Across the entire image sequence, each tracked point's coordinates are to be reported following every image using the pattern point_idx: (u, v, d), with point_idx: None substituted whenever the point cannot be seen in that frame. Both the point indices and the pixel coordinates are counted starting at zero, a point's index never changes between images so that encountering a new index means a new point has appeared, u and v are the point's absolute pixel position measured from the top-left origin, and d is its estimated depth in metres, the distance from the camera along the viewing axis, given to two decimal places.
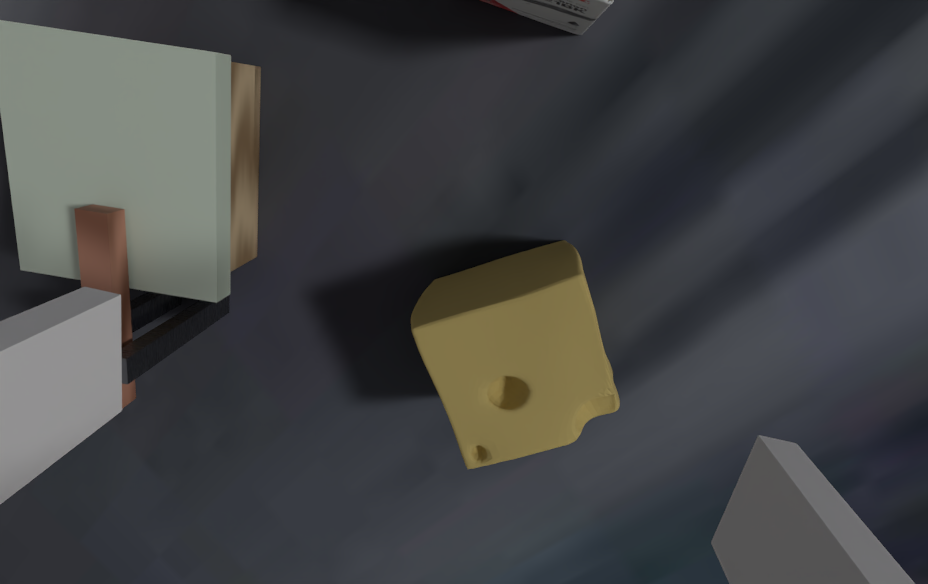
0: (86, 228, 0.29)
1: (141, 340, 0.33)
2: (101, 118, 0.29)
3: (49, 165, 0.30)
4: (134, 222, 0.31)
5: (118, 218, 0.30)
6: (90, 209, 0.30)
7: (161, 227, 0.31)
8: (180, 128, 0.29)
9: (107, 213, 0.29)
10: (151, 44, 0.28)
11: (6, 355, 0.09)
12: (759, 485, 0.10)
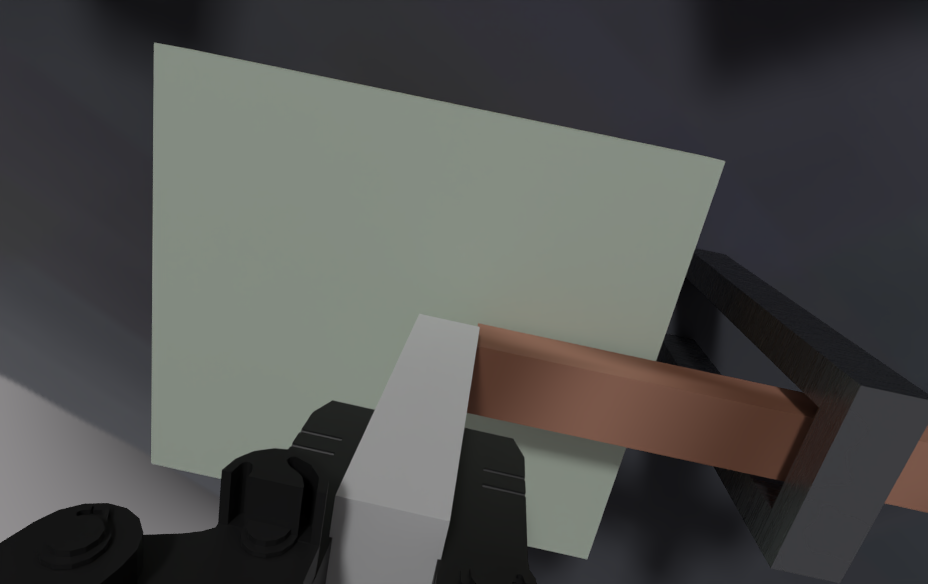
0: (505, 399, 0.13)
1: (792, 363, 0.13)
2: (300, 322, 0.15)
3: None
4: (508, 313, 0.14)
5: (493, 334, 0.14)
6: None
7: (523, 256, 0.14)
8: (312, 160, 0.13)
9: None
10: (155, 184, 0.14)
11: None
12: None
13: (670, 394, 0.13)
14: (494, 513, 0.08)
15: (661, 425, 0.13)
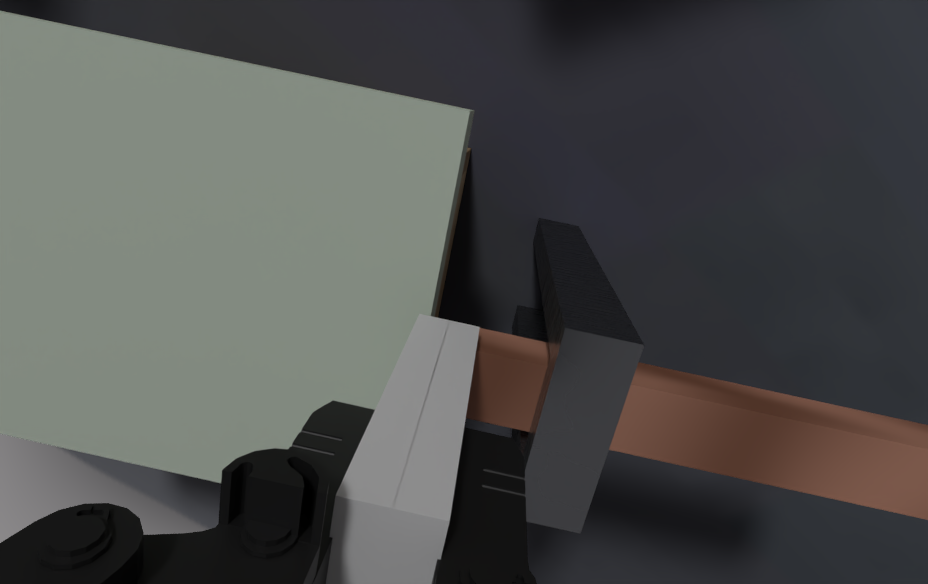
0: (505, 404, 0.13)
1: (549, 316, 0.13)
2: (82, 279, 0.15)
3: (184, 404, 0.16)
4: (281, 268, 0.14)
5: (493, 339, 0.13)
6: None
7: (288, 209, 0.14)
8: (71, 111, 0.13)
9: None
10: None
11: None
12: None
13: (672, 400, 0.13)
14: (494, 513, 0.08)
15: (663, 431, 0.13)
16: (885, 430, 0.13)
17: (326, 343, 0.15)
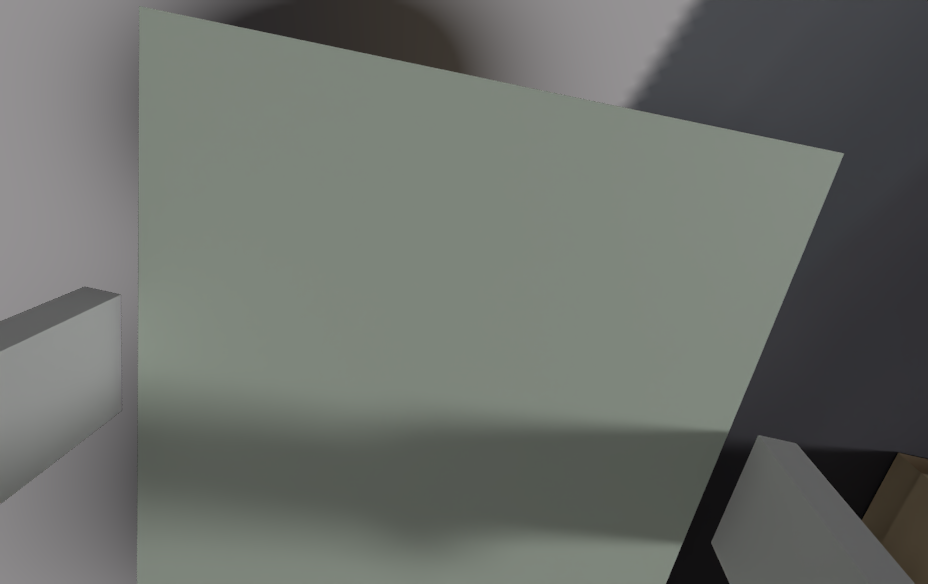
0: None
1: None
2: (427, 304, 0.10)
3: (253, 401, 0.11)
4: (452, 542, 0.12)
5: None
6: None
7: (522, 559, 0.12)
8: (654, 345, 0.10)
9: None
10: (644, 117, 0.09)
11: (6, 355, 0.09)
12: (759, 485, 0.10)
13: None
14: None
15: None
16: None
17: (363, 573, 0.13)
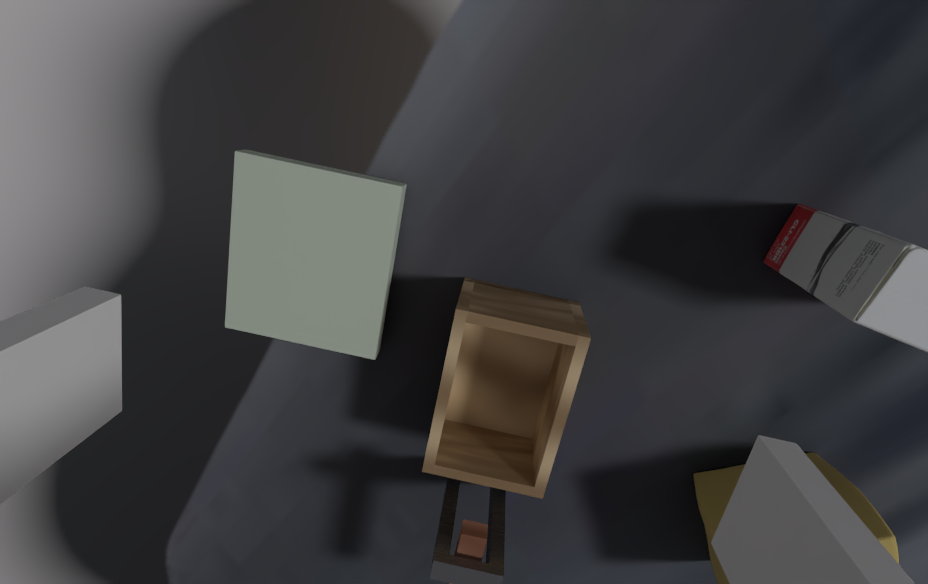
0: (466, 547, 0.38)
1: (495, 548, 0.39)
2: (308, 225, 0.40)
3: (262, 254, 0.41)
4: (320, 298, 0.41)
5: None
6: (470, 531, 0.38)
7: (341, 303, 0.41)
8: (367, 236, 0.39)
9: (486, 538, 0.38)
10: (355, 177, 0.38)
11: (6, 355, 0.09)
12: (759, 485, 0.10)
13: None
14: None
15: None
16: None
17: (295, 310, 0.42)
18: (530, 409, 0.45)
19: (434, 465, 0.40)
